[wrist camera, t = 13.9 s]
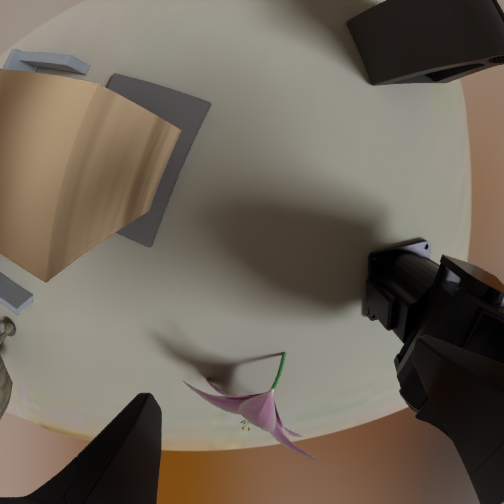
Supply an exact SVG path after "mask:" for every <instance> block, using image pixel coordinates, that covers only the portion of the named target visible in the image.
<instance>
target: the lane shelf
mask: <svg viewBox="0 0 504 504" xmlns="http://www.w3.org/2000/svg"><path fill="white" fill-rule="evenodd" d="M38 67H42V68H50V69H57V70H63V71H69V72H75V73H80V74H85V75H86V73H87V71H88V69H89V67H90V65H88V64H86V63H85V62H83V61H81V60H79V59H78V58H76V57H74V56H72V55H65V54H56V53H43V52H23V51H21V50H18V49H12V50H11V52H10V54H9V56H8V58H7V60H6V62H5V65H4V67H3V69H7V70H19V71H29V72H36V71H37V69H38ZM32 302H33V295H32V294H31V293H29V292H28V291H26V290H25V289H23V288H22V287H20V286H19V285H17V284H16V283H14V282H13V281H12V280H10V279H9V278H7V277H6V276H5V275H3V274H2V273H0V303H1V304H2V305H4V306H5V307H6V308H8V309H9V310H10V311H12V312H13V313H14V314H16V315H18V314H20V313H21V312H22V311H23V310H24V309H25V308H26V307H27V306H28V305H29V304H31V303H32Z"/></svg>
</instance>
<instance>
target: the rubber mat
mask: <svg viewBox="0 0 504 504" xmlns="http://www.w3.org/2000/svg"><path fill="white" fill-rule="evenodd" d="M107 89H109V90H111V91H113V92H115V93H117V94H119V95H121V96H123V97H124V98H126V99H128V100H130V101H132V102H134V103H135V104H137V105H139V106H141V107H143V108H144V109H146V110H148V111H150V112H151V113H153V114H155V115H157V116H158V117H160V118H162V119H164V120H165V121H167V122H169V123H170V124H172V125H174V126H175V127H177V128H179V129H180V130H182V131H181V133H180V135H179V137H178V140H177V142H176V144H175V146H174V149H173V151H172V153H171V156H170V158H169V160H168V163H167V165H166V168H165V170H164V172H163V175H162V177H161V180H160V183H159V185H158V188H157V190H156V193H155V196H154V198H153V201H152V204H151V207H150V210H149V211H148V212H147V213H145V214H143V215H142V216H140V217H138V218H137V219H135V220H134V221H132V222H131V223H129V224H127V225H126V226H124V227H123V228H121V229H120V230H118V231H117V232H116V233H118V234H120V235H122V236H125V237H127V238H129V239H131V240H134V241H136V242H138V243H140V244H143V245H145V246H147V247H151V246H152V244H153V241H154V238H155V236H156V233H157V230H158V227H159V224H160V221H161V219H162V216H163V213H164V211H165V208H166V205H167V203H168V200H169V198H170V195H171V193H172V190H173V188H174V185H175V183H176V180H177V178H178V175H179V173H180V171H181V168H182V166H183V164H184V161H185V159H186V157H187V155H188V152H189V150H190V148H191V146H192V144H193V141H194V139H195V137H196V135H197V133H198V131H199V129H200V127H201V124H202V122H203V120H204V118H205V116H206V114H207V112H208V110H209V108H210V106H211V103H210V102H207V101H204V100H202V99H199V98H196V97H193V96H190V95H188V94H185V93H182V92H179V91H176V90H173V89H170V88H166V87H163V86H160V85H157V84H153V83H150V82H146V81H143V80H139V79H135V78H131V77H128V76H123V75H119V74H115V73H114V75H113V77H112V79H111V81H110V83H109V85H108V87H107Z"/></svg>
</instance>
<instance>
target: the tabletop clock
mask: <svg viewBox="0 0 504 504" xmlns="http://www.w3.org/2000/svg"><path fill="white" fill-rule="evenodd" d="M4 330H5V332H4V333H2V334H1V335H0V345H1V343H2V342H3V340H4V339H5V338H6V336H7V335H8V336H13V335H14V334H15V331H16V328H15V326H14V324H13V323H10V322H8V323H6V324H5V327H4ZM12 384H13V383H12V381H11V378H10V376H9V374H8V372H7V369H6V367H5V365H4V362H3V360H2V357H1V355H0V419H1V418H2V416H3V414H4V412H5V410H6V408H7V406H8V404H9V401H10V396H11V390H12Z"/></svg>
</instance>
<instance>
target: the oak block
mask: <svg viewBox="0 0 504 504" xmlns="http://www.w3.org/2000/svg"><path fill="white" fill-rule="evenodd" d="M181 131H182V130H180V129H179V128H177V127H175V126H174V125H172V124H170V123H169V122H167V121H165V120H164V119H162V118H160V117H158V116H157V115H155V114H153V113H151V112H150V111H148V110H146V109H144V108H143V107H141V106H139V105H137V104H135V103H134V102H132V101H130V100H128V99H126V98H124V97H123V96H121V95H119V94H117V93H115V92H113V91H111V90H109V89H107V88H106V87H104V86H102V85H100V84H97V83H93V82H88V81H84V80H79V79H74V78H68V77H63V76H57V75H51V74H44V73H37V72H29V71H19V70H7V69H0V253H1V254H2V255H4V256H5V257H7V258H8V259H10V260H11V261H13V262H14V263H16V264H17V265H19V266H20V267H22V268H23V269H25V270H26V271H28V272H29V273H31V274H33V275H34V276H36V277H37V278H39V279H41V280H42V281H44V282H48V281H49V280H50V279H51V278H53V277H54V276H55V275H57V274H58V273H59V272H61V271H62V270H63V269H64V268H66V267H67V266H68V265H70V264H71V263H72V262H74V261H75V260H77V259H78V258H79V257H81V256H82V255H83V254H85V253H86V252H88V251H89V250H90V249H92V248H93V247H95V246H96V245H98V244H99V243H100V242H102V241H103V240H105V239H106V238H108V237H109V236H111V235H112V234H114V233H115V232H117V231H118V230H120V229H121V228H123V227H124V226H126V225H127V224H129V223H131V222H132V221H134V220H135V219H137V218H138V217H140V216H142V215H143V214H145V213H147V212H148V211H149V210H150V207H151V204H152V201H153V198H154V196H155V193H156V190H157V188H158V185H159V183H160V180H161V177H162V175H163V172H164V170H165V168H166V165H167V163H168V160H169V158H170V156H171V153H172V151H173V149H174V146H175V144H176V142H177V140H178V137H179V135H180V133H181Z"/></svg>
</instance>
